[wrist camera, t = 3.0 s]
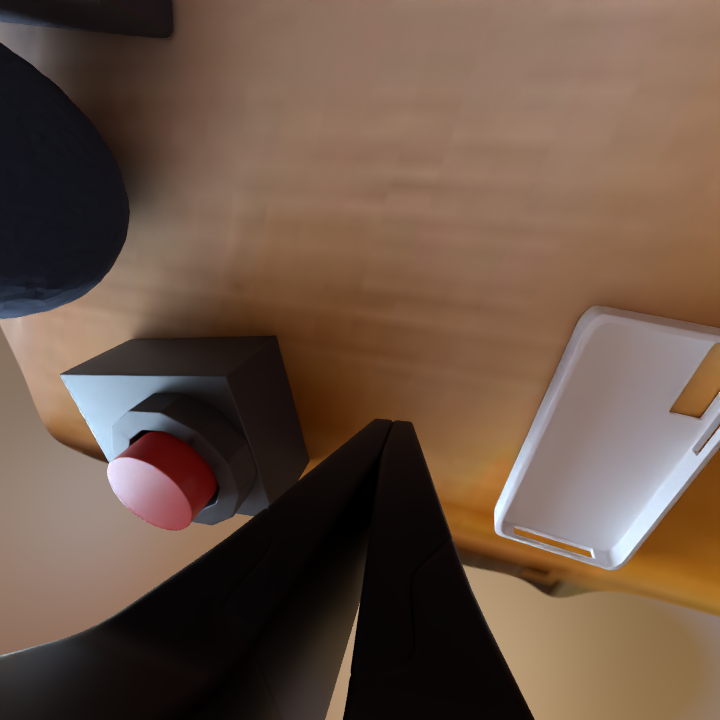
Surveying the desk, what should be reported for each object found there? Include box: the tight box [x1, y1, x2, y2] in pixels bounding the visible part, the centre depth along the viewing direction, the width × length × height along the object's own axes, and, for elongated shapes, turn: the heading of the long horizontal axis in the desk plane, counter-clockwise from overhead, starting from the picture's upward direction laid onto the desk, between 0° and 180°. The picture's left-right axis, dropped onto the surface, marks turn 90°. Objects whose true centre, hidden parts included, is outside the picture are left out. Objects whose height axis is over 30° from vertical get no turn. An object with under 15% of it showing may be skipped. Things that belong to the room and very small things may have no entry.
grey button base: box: [60, 336, 309, 525], centre depth 23 cm, size 12×10×7 cm
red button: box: [108, 431, 217, 530], centre depth 19 cm, size 5×5×2 cm
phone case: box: [494, 305, 720, 571], centre depth 19 cm, size 7×1×15 cm
